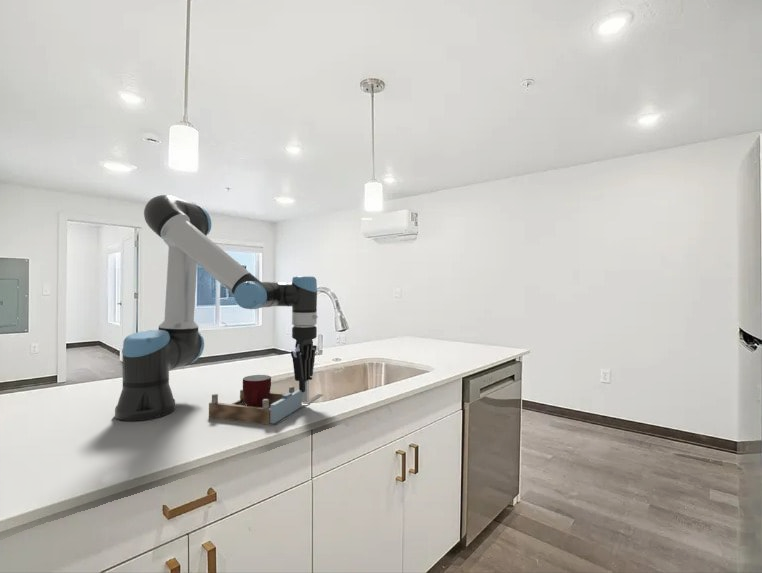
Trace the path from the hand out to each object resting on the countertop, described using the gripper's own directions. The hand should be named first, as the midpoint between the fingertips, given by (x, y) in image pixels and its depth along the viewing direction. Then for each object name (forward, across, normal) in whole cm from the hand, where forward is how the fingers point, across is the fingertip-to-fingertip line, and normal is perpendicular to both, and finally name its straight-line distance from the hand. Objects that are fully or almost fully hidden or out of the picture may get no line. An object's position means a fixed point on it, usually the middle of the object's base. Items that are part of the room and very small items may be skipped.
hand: (303, 401), depth 121 cm
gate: (+1, -10, 0) cm, 10 cm away
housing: (+2, -2, +10) cm, 10 cm away
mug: (+2, -10, +10) cm, 14 cm away
